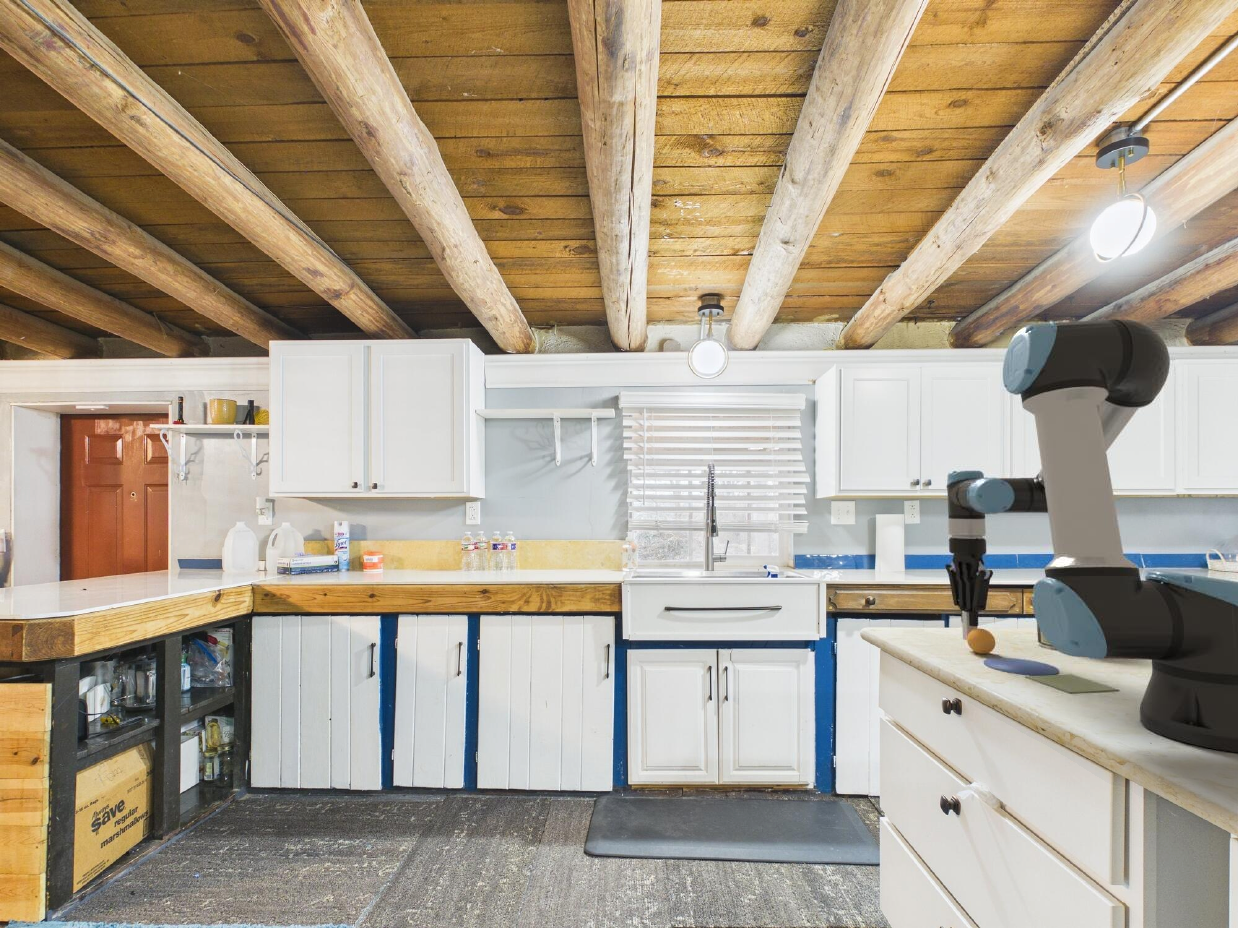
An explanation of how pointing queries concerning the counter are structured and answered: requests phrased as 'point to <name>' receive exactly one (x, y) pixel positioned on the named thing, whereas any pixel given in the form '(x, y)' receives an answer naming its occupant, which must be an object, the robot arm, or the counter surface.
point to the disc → (1021, 666)
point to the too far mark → (1071, 683)
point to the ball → (981, 641)
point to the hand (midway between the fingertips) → (970, 639)
